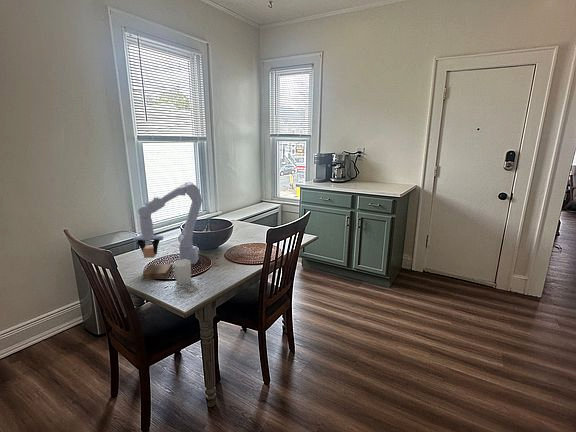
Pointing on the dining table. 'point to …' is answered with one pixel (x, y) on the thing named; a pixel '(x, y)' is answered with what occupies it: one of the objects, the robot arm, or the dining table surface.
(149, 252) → the cube
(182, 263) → the white cup
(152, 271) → the base
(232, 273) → the dining table surface
